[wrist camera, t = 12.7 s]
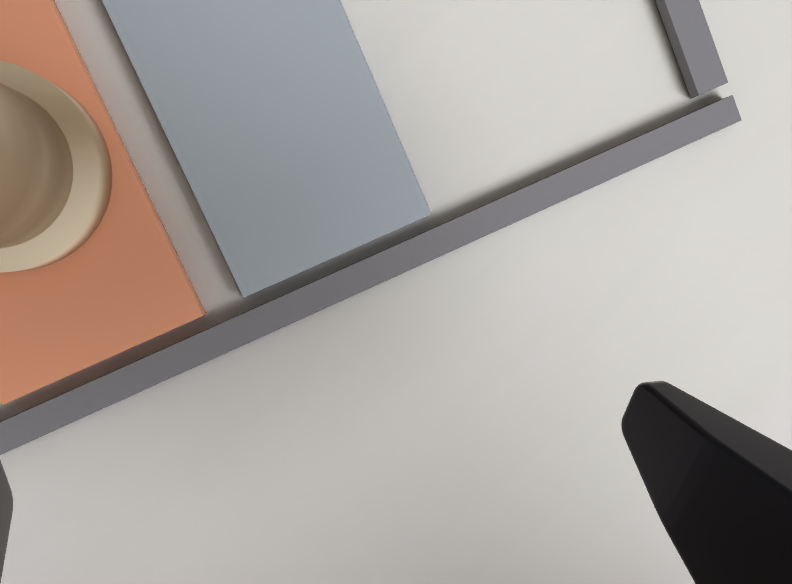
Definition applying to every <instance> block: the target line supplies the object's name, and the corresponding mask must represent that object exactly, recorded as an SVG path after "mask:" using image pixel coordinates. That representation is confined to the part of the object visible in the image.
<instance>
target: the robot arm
mask: <svg viewBox="0 0 792 584" xmlns="http://www.w3.org/2000/svg"><path fill="white" fill-rule="evenodd" d="M621 425H622V432H623V435H624V438H625V440H626V442H627V445H628V447H629V449H630V452H631V454H632V456H633V459H634V461H635V463H636V465H637V468H638V470H639V472H640V475H641V477H642V479H643V481H644V484H645V486H646V488H647V491H648V493H649V495H650V497H651V500H652V502H653V504H654V507H655V509H656V511H657V513H658V515H659V517H660V519H661V521H662V523H663V525H664V527H665V529H666V531H667V533H668V535H669V537H670V538H671V540H672V542H673V544H674V546H675V548H676V549H677V551H678V553H679V555H680V557H681V558H682V560H683V562H684V564H685V566H686V567H687V569H688V571H689V573H690V575H691V576H692V578H693V580H694V582H695V584H792V450H790V449H788V448H786V447H784V446H783V445H781V444H779V443H777V442H775V441H773V440H772V439H770V438H768V437H766V436H764V435H762V434H761V433H759V432H757V431H755V430H753V429H752V428H750V427H748V426H746V425H744V424H742V423H741V422H739V421H737V420H735V419H733V418H731V417H730V416H728V415H726V414H724V413H722V412H720V411H719V410H717V409H715V408H713V407H711V406H709V405H708V404H706V403H704V402H702V401H700V400H698V399H697V398H695V397H693V396H691V395H689V394H688V393H686V392H684V391H682V390H680V389H678V388H677V387H675V386H673V385H671V384H669V383H667V382H664V381H655V382H645V383H641V384H639V385H638V386H637V387H636V388H635V390H634V392H633V395H632V397H631V399H630V402H629V404H628V406H627V409H626V411H625V413H624V415H623V418H622V423H621ZM12 511H13V496H12V491H11V488H10V486H9V483H8V480H7V477H6V475H5V472H4V469H3V466H2V464H1V461H0V583H1V577H2V571H3V565H4V559H5V554H6V548H7V542H8V536H9V530H10V524H11V518H12Z"/></svg>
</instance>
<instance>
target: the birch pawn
mask: <svg viewBox="0 0 792 584" xmlns="http://www.w3.org/2000/svg"><path fill="white" fill-rule="evenodd" d="M111 189H112V165H111V159H110V154H109V150H108V147H107V144H106V142H105V139H104V137H103V135H102V133H101V131H100V129H99V127H98V125H97V124H96V122H95V121H94V119H93V118H92V116H91V115H90V114H89V113H88V111H87V110H86V109H85V108H84V107H83V106H82V105H81V104H80V103H79V102H78V101H77V100H76V99H75V98H73V97H72V96H71V95H70V94H68V93H67V92H66V91H64V90H63V89H61V88H60V87H58V86H56V85H55V84H53V83H51V82H50V81H48V80H46V79H45V78H43V77H41V76H40V75H38V74H36V73H34V72H32V71H30V70H28V69H25V68H23V67H20V66H17V65H15V64H11V63H7V62H3V61H0V273H1V272H14V271H26V270H31V269H37V268H41V267H44V266H47V265H50V264H53V263H55V262H57V261H59V260H62V259H63V258H65V257H67V256H68V255H70V254H71V253H73V252H74V251H76V250H77V249H78V248H79V247H80V246H82V245H83V244H84V243H85V242H86V241H87V240H88V239H89V238H90V236H91V235H92V234H93V233H94V231H95V230H96V228H97V227H98V226H99V224H100V222H101V220H102V218H103V216H104V214H105V212H106V209H107V206H108V203H109V200H110V195H111Z"/></svg>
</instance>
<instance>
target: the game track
mask: <svg viewBox="0 0 792 584" xmlns="http://www.w3.org/2000/svg"><path fill="white" fill-rule="evenodd" d="M102 2H103V4H104V6H105V8H106V10H107V12H108V14H109V16H110V19H111V21H112V23H113V25H114V27H115V29H116V31H117V33H118V35H119V37H120V40H121V42H122V44H123V46H124V48H125V50H126V52H127V54H128V56H129V58H130V61H131V63H132V65H133V67H134V69H135V71H136V73H137V75H138V77H139V79H140V82H141V84H142V86H143V88H144V90H145V92H146V94H147V96H148V98H149V100H150V103H151V105H152V107H153V109H154V111H155V113H156V115H157V117H158V119H159V121H160V124H161V126H162V128H163V130H164V132H165V134H166V136H167V138H168V140H169V142H170V145H171V147H172V149H173V151H174V153H175V155H176V157H177V159H178V161H179V163H180V166H181V168H182V170H183V172H184V174H185V176H186V178H187V180H188V182H189V184H190V187H191V189H192V191H193V193H194V195H195V197H196V199H197V201H198V203H199V205H200V208H201V210H202V212H203V214H204V216H205V218H206V220H207V222H208V224H209V227H210V229H211V231H212V233H213V235H214V237H215V239H216V241H217V243H218V245H219V248H220V250H221V252H222V254H223V256H224V258H225V260H226V262H227V264H228V266H229V269H230V271H231V273H232V275H233V277H234V279H235V281H236V283H237V285H238V287H239V290H240V292H241V294H242V296H243V298H245V297H247V296H249V295H251V294H254V293H256V292H258V291H260V290H263V289H265V288H267V287H269V286H272V285H274V284H276V283H278V282H280V281H283V280H285V279H287V278H289V277H292V276H294V275H296V274H298V273H301V272H303V271H305V270H307V269H310V268H312V267H314V266H316V265H319V264H321V263H323V262H325V261H328V260H330V259H332V258H334V257H337V256H339V255H341V254H343V253H346V252H348V251H350V250H352V249H355V248H357V247H359V246H361V245H364V244H366V243H368V242H370V241H373V240H375V239H377V238H379V237H382V236H384V235H386V234H388V233H391V232H393V231H395V230H397V229H400V228H402V227H404V226H406V225H409V224H411V223H413V222H415V221H418V220H420V219H422V218H424V217H427V216H429V215H431V211H430V209H429V207H428V204H427V202H426V200H425V197H424V195H423V193H422V190H421V188H420V186H419V183H418V181H417V179H416V176H415V174H414V172H413V169H412V167H411V165H410V162H409V160H408V158H407V155H406V153H405V151H404V148H403V146H402V144H401V141H400V139H399V137H398V134H397V132H396V130H395V127H394V125H393V123H392V120H391V118H390V116H389V113H388V111H387V109H386V106H385V104H384V102H383V99H382V97H381V95H380V92H379V90H378V88H377V85H376V83H375V81H374V78H373V76H372V74H371V71H370V69H369V67H368V64H367V62H366V60H365V57H364V55H363V53H362V50H361V48H360V46H359V43H358V41H357V39H356V36H355V34H354V31H353V29H352V27H351V24H350V22H349V20H348V17H347V15H346V13H345V10H344V8H343V6H342V3H341V1H340V0H102ZM655 2H656V4H657V7H658V10H659V13H660V15H661V18H662V21H663V24H664V26H665V29H666V32H667V35H668V37H669V40H670V43H671V45H672V48H673V51H674V54H675V56H676V59H677V62H678V65H679V67H680V70H681V73H682V76H683V78H684V81H685V84H686V87H687V89H688V92H689V95H690V98H694V97H696V96H698V95H701V94H703V93H705V92H708V91H710V90H712V89H714V88H717V87H719V86H721V85H723V84H726V83H728V81H727V78H726V75H725V72H724V70H723V67H722V64H721V61H720V58H719V55H718V53H717V50H716V47H715V44H714V41H713V39H712V36H711V33H710V30H709V27H708V25H707V22H706V19H705V16H704V13H703V10H702V8H701V5H700V2H699V0H655ZM0 61H3V62H7V63H11V64H15V65H17V66H20V67H23V68H25V69H28V70H30V71H32V72H34V73H36V74H38V75H40V76H41V77H43V78H45V79H46V80H48V81H50V82H51V83H53V84H55V85H56V86H58V87H60V88H61V89H63V90H64V91H66V92H67V93H68V94H70V95H71V96H72V97H73V98H75V99H76V100H77V101H78V102H79V103H80V104H81V105H82V106H83V107H84V108H85V109H86V110H87V111H88V113H89V114H90V115H91V116H92V118H93V119H94V121H95V122H96V124H97V125H98V127H99V129H100V131H101V133H102V135H103V137H104V139H105V142H106V144H107V147H108V150H109V154H110V159H111V165H112V189H111V195H110V200H109V203H108V206H107V209H106V212H105V214H104V216H103V218H102V220H101V222H100V224H99V226H98V227H97V228H96V230H95V231H94V233H93V234H92V235H91V236H90V238H89V239H88V240H87V241H86V242H85V243H84V244H83V245H82V246H80V247H79V248H78V249H77V250H76V251H74V252H73V253H71V254H70V255H68V256H67V257H65V258H63V259H62V260H59V261H57V262H55V263H53V264H50V265H47V266H44V267H41V268H37V269H31V270H26V271H14V272H1V273H0V402H1V404H2V405H4V404H6V403H9V402H11V401H13V400H15V399H18V398H20V397H22V396H24V395H27V394H29V393H31V392H33V391H36V390H38V389H40V388H42V387H45V386H47V385H49V384H51V383H53V382H56V381H58V380H60V379H62V378H65V377H67V376H69V375H71V374H74V373H76V372H78V371H80V370H83V369H85V368H87V367H89V366H92V365H94V364H96V363H98V362H101V361H103V360H105V359H107V358H110V357H112V356H114V355H116V354H119V353H121V352H123V351H125V350H128V349H130V348H132V347H134V346H137V345H139V344H141V343H143V342H146V341H148V340H150V339H152V338H155V337H157V336H159V335H161V334H164V333H166V332H168V331H170V330H173V329H175V328H177V327H179V326H182V325H184V324H186V323H188V322H191V321H193V320H195V319H197V318H200V317H202V316H204V315H206V313H205V311H204V309H203V307H202V305H201V303H200V301H199V299H198V297H197V294H196V292H195V290H194V288H193V286H192V284H191V282H190V280H189V278H188V276H187V274H186V272H185V270H184V268H183V266H182V264H181V262H180V259H179V257H178V255H177V253H176V251H175V249H174V247H173V245H172V243H171V241H170V239H169V237H168V235H167V233H166V231H165V229H164V227H163V224H162V222H161V220H160V218H159V216H158V214H157V212H156V210H155V208H154V206H153V204H152V202H151V200H150V198H149V196H148V194H147V192H146V189H145V187H144V185H143V183H142V181H141V179H140V177H139V175H138V173H137V171H136V169H135V167H134V165H133V163H132V161H131V159H130V157H129V154H128V152H127V150H126V148H125V146H124V144H123V142H122V140H121V138H120V136H119V134H118V132H117V130H116V128H115V126H114V124H113V122H112V119H111V117H110V115H109V113H108V111H107V109H106V107H105V105H104V103H103V101H102V99H101V97H100V95H99V93H98V91H97V89H96V87H95V84H94V82H93V80H92V78H91V76H90V74H89V72H88V70H87V68H86V66H85V64H84V62H83V60H82V58H81V56H80V54H79V52H78V49H77V47H76V45H75V43H74V41H73V39H72V37H71V35H70V33H69V31H68V29H67V27H66V25H65V23H64V21H63V19H62V17H61V14H60V12H59V10H58V8H57V6H56V4H55V2H54V0H0ZM739 121H741V117H740V114H739V112H738V109H737V106H736V103H735V100H734V98H733V95H731V96H729V97H726V98H723V99H721V100H719V101H717V102H714V103H712V104H710V105H708V106H705V107H703V108H701V109H699V110H696V111H694V112H692V113H690V114H688V115H685V116H683V117H681V118H679V119H676V120H674V121H672V122H670V123H667V124H665V125H663V126H661V127H658V128H656V129H654V130H652V131H650V132H647V133H645V134H643V135H641V136H638V137H636V138H634V139H632V140H629V141H627V142H625V143H623V144H620V145H618V146H616V147H614V148H611V149H609V150H607V151H605V152H603V153H600V154H598V155H596V156H594V157H591V158H589V159H587V160H585V161H582V162H580V163H578V164H576V165H573V166H571V167H569V168H567V169H565V170H562V171H560V172H558V173H556V174H553V175H551V176H549V177H547V178H544V179H542V180H540V181H538V182H535V183H533V184H531V185H529V186H526V187H524V188H522V189H520V190H518V191H515V192H513V193H511V194H509V195H506V196H504V197H502V198H500V199H497V200H495V201H493V202H491V203H488V204H486V205H484V206H482V207H479V208H477V209H475V210H473V211H471V212H468V213H466V214H464V215H462V216H459V217H457V218H455V219H453V220H450V221H448V222H446V223H444V224H441V225H439V226H437V227H435V228H433V229H430V230H428V231H426V232H424V233H421V234H419V235H417V236H415V237H412V238H410V239H408V240H406V241H403V242H401V243H399V244H397V245H394V246H392V247H390V248H388V249H386V250H383V251H381V252H379V253H377V254H374V255H372V256H370V257H368V258H365V259H363V260H361V261H359V262H356V263H354V264H352V265H350V266H348V267H345V268H343V269H341V270H339V271H336V272H334V273H332V274H330V275H327V276H325V277H323V278H321V279H318V280H316V281H314V282H312V283H309V284H307V285H305V286H303V287H301V288H298V289H296V290H294V291H292V292H289V293H287V294H285V295H283V296H280V297H278V298H276V299H274V300H271V301H269V302H267V303H265V304H263V305H260V306H258V307H256V308H254V309H251V310H249V311H247V312H245V313H242V314H240V315H238V316H236V317H233V318H231V319H229V320H227V321H224V322H222V323H220V324H218V325H216V326H213V327H211V328H209V329H207V330H204V331H202V332H200V333H198V334H195V335H193V336H191V337H189V338H186V339H184V340H182V341H180V342H178V343H175V344H173V345H171V346H169V347H166V348H164V349H162V350H160V351H157V352H155V353H153V354H151V355H148V356H146V357H144V358H142V359H139V360H137V361H135V362H133V363H131V364H128V365H126V366H124V367H122V368H119V369H117V370H115V371H113V372H110V373H108V374H106V375H104V376H101V377H99V378H97V379H95V380H93V381H90V382H88V383H86V384H84V385H81V386H79V387H77V388H75V389H72V390H70V391H68V392H66V393H63V394H61V395H59V396H57V397H54V398H52V399H50V400H48V401H46V402H43V403H41V404H39V405H37V406H34V407H32V408H30V409H28V410H25V411H23V412H21V413H19V414H16V415H14V416H12V417H10V418H8V419H5V420H3V421H1V422H0V455H1V454H3V453H6V452H8V451H10V450H12V449H14V448H17V447H19V446H21V445H23V444H26V443H28V442H30V441H32V440H34V439H37V438H39V437H41V436H43V435H45V434H48V433H50V432H52V431H54V430H57V429H59V428H61V427H63V426H65V425H68V424H70V423H72V422H74V421H76V420H79V419H81V418H83V417H85V416H88V415H90V414H92V413H94V412H96V411H99V410H101V409H103V408H105V407H107V406H110V405H112V404H114V403H116V402H119V401H121V400H123V399H125V398H127V397H130V396H132V395H134V394H136V393H138V392H141V391H143V390H145V389H147V388H150V387H152V386H154V385H156V384H158V383H161V382H163V381H165V380H167V379H169V378H172V377H174V376H176V375H178V374H181V373H183V372H185V371H187V370H189V369H192V368H194V367H196V366H198V365H200V364H203V363H205V362H207V361H209V360H212V359H214V358H216V357H218V356H220V355H223V354H225V353H227V352H229V351H231V350H234V349H236V348H238V347H240V346H243V345H245V344H247V343H249V342H251V341H254V340H256V339H258V338H260V337H262V336H265V335H267V334H269V333H271V332H274V331H276V330H278V329H280V328H282V327H285V326H287V325H289V324H291V323H293V322H296V321H298V320H300V319H302V318H305V317H307V316H309V315H311V314H313V313H316V312H318V311H320V310H322V309H324V308H327V307H329V306H331V305H333V304H336V303H338V302H340V301H342V300H344V299H347V298H349V297H351V296H353V295H355V294H358V293H360V292H362V291H364V290H367V289H369V288H371V287H373V286H375V285H378V284H380V283H382V282H384V281H386V280H389V279H391V278H393V277H395V276H398V275H400V274H402V273H404V272H406V271H409V270H411V269H413V268H415V267H417V266H420V265H422V264H424V263H426V262H429V261H431V260H433V259H435V258H437V257H440V256H442V255H444V254H446V253H449V252H451V251H453V250H455V249H457V248H460V247H462V246H464V245H466V244H468V243H471V242H473V241H475V240H477V239H480V238H482V237H484V236H486V235H488V234H491V233H493V232H495V231H497V230H499V229H502V228H504V227H506V226H508V225H511V224H513V223H515V222H517V221H519V220H522V219H524V218H526V217H528V216H530V215H533V214H535V213H537V212H539V211H542V210H544V209H546V208H548V207H550V206H553V205H555V204H557V203H559V202H561V201H564V200H566V199H568V198H570V197H573V196H575V195H577V194H579V193H581V192H584V191H586V190H588V189H590V188H592V187H595V186H597V185H599V184H601V183H604V182H606V181H608V180H610V179H612V178H615V177H617V176H619V175H621V174H623V173H626V172H628V171H630V170H632V169H635V168H637V167H639V166H641V165H643V164H646V163H648V162H650V161H652V160H654V159H657V158H659V157H661V156H663V155H666V154H668V153H670V152H672V151H674V150H677V149H679V148H681V147H683V146H685V145H688V144H690V143H692V142H694V141H697V140H699V139H701V138H703V137H705V136H708V135H710V134H712V133H714V132H716V131H719V130H721V129H723V128H725V127H728V126H730V125H732V124H734V123H736V122H739Z"/></svg>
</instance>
